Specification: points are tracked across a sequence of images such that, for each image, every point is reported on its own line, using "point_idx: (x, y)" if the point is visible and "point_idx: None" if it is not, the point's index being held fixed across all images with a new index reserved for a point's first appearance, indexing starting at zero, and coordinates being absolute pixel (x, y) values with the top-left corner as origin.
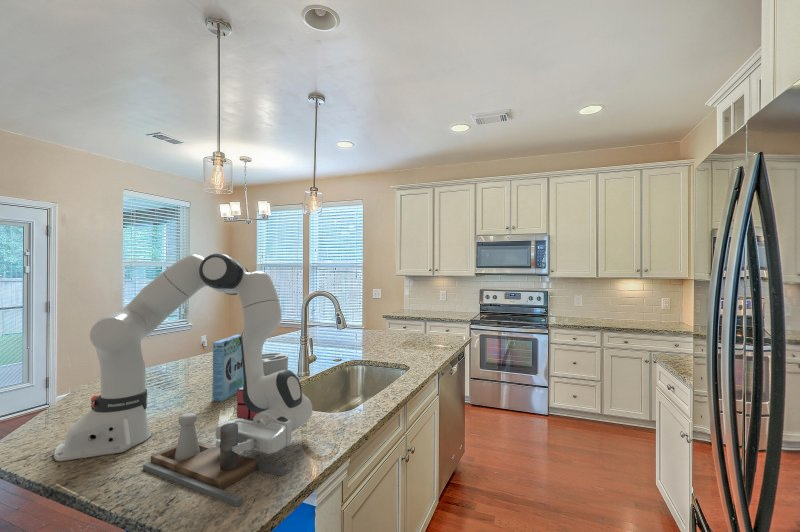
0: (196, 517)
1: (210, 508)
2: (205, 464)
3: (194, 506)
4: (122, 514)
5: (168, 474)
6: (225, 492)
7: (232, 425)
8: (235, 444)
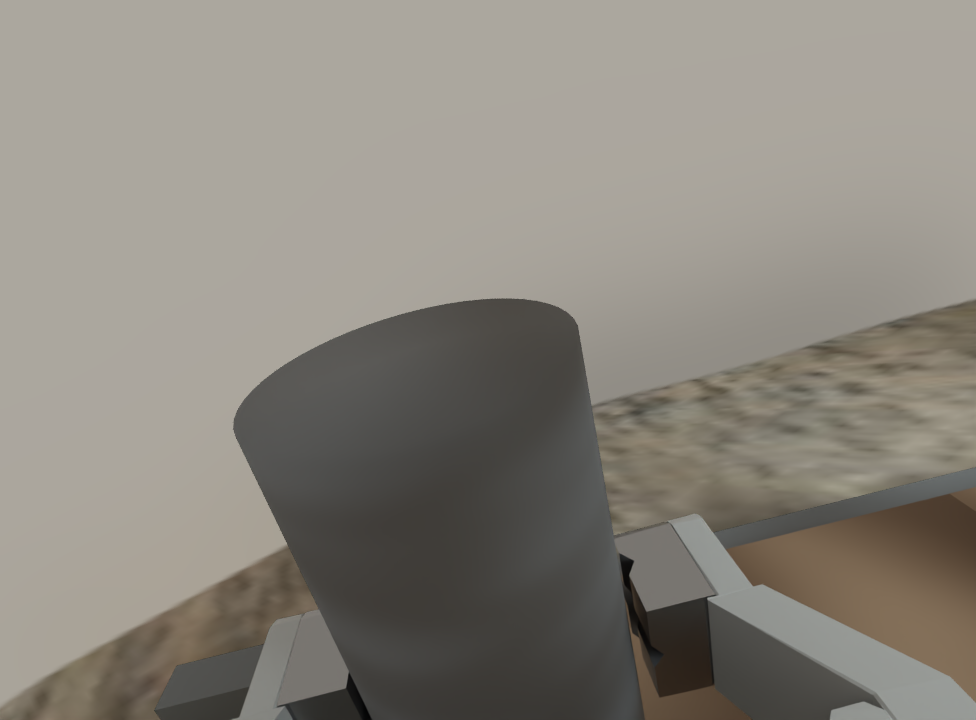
0: None
1: None
2: None
3: None
4: (630, 398)
5: (869, 494)
6: None
7: (379, 388)
8: (327, 632)
